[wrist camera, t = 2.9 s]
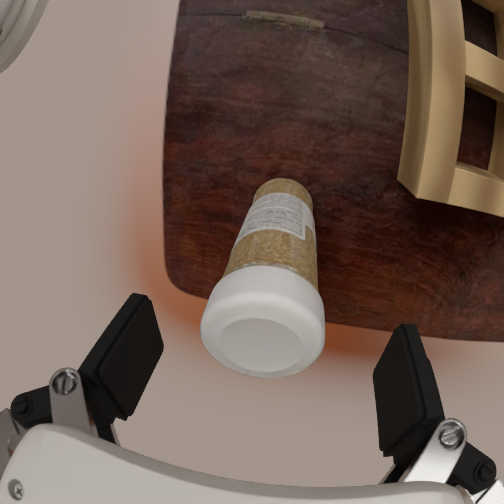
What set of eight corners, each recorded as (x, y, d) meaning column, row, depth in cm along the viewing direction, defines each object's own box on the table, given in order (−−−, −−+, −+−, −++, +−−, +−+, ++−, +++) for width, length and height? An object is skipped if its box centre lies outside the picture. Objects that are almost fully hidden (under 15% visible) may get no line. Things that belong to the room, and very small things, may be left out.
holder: (396, 179, 18) (416, 198, 15) (399, -49, 8) (415, -69, 4) (498, 203, 17) (523, 222, 13) (508, 4, 7) (533, -1, 3)
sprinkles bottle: (305, 237, 22) (304, 390, 10) (248, 225, 22) (196, 368, 11) (319, 182, 19) (345, 314, 8) (257, 170, 20) (197, 284, 8)
